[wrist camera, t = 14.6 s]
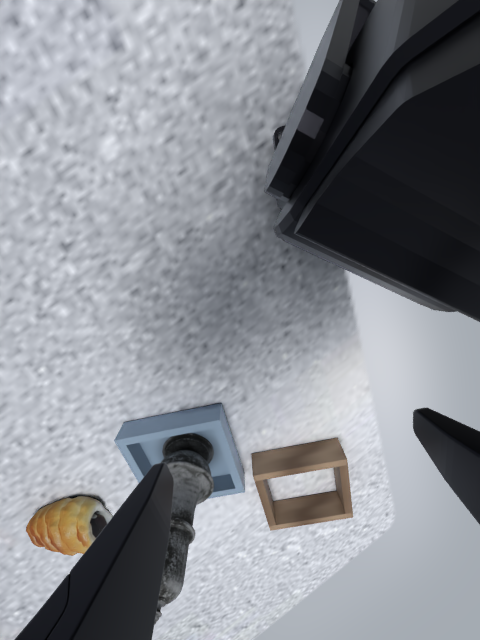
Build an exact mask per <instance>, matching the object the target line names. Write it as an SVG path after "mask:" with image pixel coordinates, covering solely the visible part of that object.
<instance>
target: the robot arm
mask: <svg viewBox="0 0 480 640" xmlns="http://www.w3.org/2000/svg"><path fill="white" fill-rule="evenodd" d="M280 133H282V136H281V138H280V140H279V139H278V134H280ZM273 142H274V149H275V153H274V155H273V158H272V160H271V162H270V165H269V169H268V174H267V179H266V184H265V190H264V192H266V193H268V194H270V195H272V196H274V197H276V198H277V204H278V207H279V208H280V209H281V212H280V214H279V216H278V218H277V221H276V223H275V225H274V230H275V233H276V236H277V237H279V238H281V239H283V241H286V242H288V243H290V244H292V245H294V246H296V247H298V248H300V249H303V250H305V251H307V252H309V253H311V254H313V255H315V256H318V257H320V258H322V259H324V260H326V261H328V262H330V263H333V264H335V265H337V266H339V267H341V268H343V269H345V270H348V271H350V272H352V273H354V274H356V275H358V276H360V277H363V278H365V279H367V280H369V281H371V282H373V283H375V284H378V285H380V286H382V287H384V288H386V289H388V290H391V291H392V292H395V293H397V294H399V295H401V296H403V297H406V298H407V299H410V300H412V301H414V302H416V303H418V304H420V305H423V306H426V307H428V308H430V309H433V310H439V311H445V312H455V311H458V312H460V313H462V314H464V315H466V316H468V317H471V318H473V319H475V320H477V321H479V322H480V0H378V1H377V2H375V1H374V0H340V1H339V3H338V5H337V7H336V10H335V12H334V14H333V16H332V18H331V20H330V23H329V25H328V27H327V29H326V31H325V34H324V36H323V38H322V40H321V42H320V44H319V47H318V49H317V51H316V54H315V56H314V59H313V61H312V64H311V66H310V69H309V71H308V73H307V76H306V78H305V80H304V83H303V85H302V88H301V90H300V92H299V95H298V97H297V100H296V102H295V104H294V107H293V109H292V112H291V114H290V117H289V119H288V121H287V124H286V125H285V126H282V127H279V128H277V130H276V131H275V133H274V136H273ZM413 429H414V432H415V434H416V436H417V438H418V439H419V441H420V442H421V444H422V445H423V447H424V448H425V450H426V452H427V453H428V455H429V456H430V458H431V459H432V461H433V462H434V464H435V465H436V467H437V468H438V470H439V472H440V473H441V474H442V476H443V478H444V479H445V480H446V482H447V483H448V484H449V486H450V487H451V488H452V490H453V491H454V492H455V493H456V495H457V496H458V497H459V499H460V500H461V501H462V502H463V504H464V505H465V506H466V508H467V509H468V510H469V511H470V513H471V514H472V515H473V517H474V518H475V519H476V520H477V522H478V523H479V524H480V431H477V430H475V429H473V428H471V427H469V426H466V425H464V424H462V423H460V422H457V421H455V420H453V419H451V418H449V417H447V416H444V415H442V414H440V413H438V412H436V411H433V410H431V409H429V408H421V409H417V410H414V412H413ZM173 487H174V480H173V476H172V474H171V472H170V470H169V468H168V466H167V464H166V463H165V462H162V463H157V464H154V465H153V466H152V467H151V469H150V470H149V471H148V472H147V474H146V475H145V476H144V478H143V479H142V480H141V481H140V483H139V484H138V485H137V487H136V488H135V489H134V490H133V492H132V493H131V494H130V496H129V497H128V498H127V499H126V501H125V502H124V503H123V504H122V506H121V507H120V508H119V510H118V511H117V512H116V513H115V515H114V516H113V517H112V519H111V520H110V521H109V522H108V524H107V525H106V526H105V528H104V529H103V530H102V531H101V533H100V534H99V535H98V537H97V538H96V539H95V540H94V542H93V543H92V544H91V545H90V547H89V548H88V549H87V551H86V552H85V553H84V554H83V556H82V557H81V558H80V560H79V561H78V562H77V563H76V565H75V566H74V567H73V569H72V570H71V571H70V574H68V575H67V576H66V577H65V579H64V580H63V581H62V583H61V584H60V585H59V586H58V588H57V589H56V590H55V591H54V593H53V594H52V595H51V596H50V598H49V599H48V600H47V601H46V603H45V604H44V605H43V606H42V608H41V609H40V610H39V611H38V613H37V614H36V615H35V616H34V617H33V619H32V620H31V621H30V622H29V623H28V624H27V626H26V627H25V628H24V629H23V630H22V632H21V633H20V634H19V635H18V636H17V637H16V639H15V640H152V634H153V628H154V622H155V617H156V611H157V605H158V599H159V593H160V587H161V582H162V576H163V570H164V564H165V558H166V552H167V547H168V541H169V534H170V525H171V513H172V500H173Z"/></svg>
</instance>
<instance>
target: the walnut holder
mask: <svg viewBox="0 0 480 640" xmlns="http://www.w3.org/2000/svg"><path fill="white" fill-rule="evenodd" d="M333 467H334V474H335V482H336V489H337V491H333V492H327V493H321V494H315V495H309V496H303V497H297V498H291V499H285V500H279V501H273V499H272V496H271V493H270V489H269V486H268V482H267V479H270V478H276V477H281V476H287V475H293V474H299V473H304V472H310V471H316V470H321V469H327V468H333ZM252 468H253V477H254V480H255V484H256V487H257V490H258V493H259V496H260V499H261V502H262V506H263V509H264V512H265V515H266V518H267V521H268V524H269V528H270V531H271V530H277V529H283V528H289V527H296V526H302V525H308V524H314V523H321V522H327V521H333V520H339V519H346V518H352V517H353V511H352V502H351V492H350V482H349V473H348V463H347V458H346V456H345V453H344V451H343V449H342V447H341V445H340V443H339V440H338V438H334V439H329V440H323V441H318V442H312V443H307V444H302V445H296V446H291V447H285V448H280V449H274V450H269V451H264V452H258V453H253V454H252Z"/></svg>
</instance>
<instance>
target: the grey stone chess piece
mask: <svg viewBox="0 0 480 640" xmlns="http://www.w3.org/2000/svg"><path fill="white" fill-rule="evenodd" d="M162 453H163V457H164V459H163V460H162V461H161V463H162V462H165V463H166V464H167V466H168V468H169V470H170V472H171V474H172V476H173V480H174V487H173V500H172V513H171V525H170V534H169V541H168V547H167V552H166V558H165V564H164V570H163V576H162V582H161V587H160V593H159V599H158V605H157V611H156V617H155V622H154V624H156V622H157V621H158V619H159V617H160V616H161V615H162V614H161V612H160V609H161V607H164V606H165V605H166V604H169V603H170V602H172V601H173V600H175V599H176V598H177V596H178V595H179V594H180V592H181V590H182V586H183V582H184V575H185V568H186V561H187V554H188V547H189V544H190V543H192V541H193V540H194V538H195V530H194V529H193V527H192V525H193V518H194V511H195V507H196V505H197V504H199V503H202V502H204V501H205V500H206V499H207V498H209V497H210V495H211V494H212V492H213V489H214V481H213V478H212V476H211V471H210V468H209V465H208V464H209V463H210V462H211V460H212V459H213V455H214V450H213V446H212V445H211V443H210V442H209V441H208V440H207V439H206V438H204V437H203V436H201V435H198V434H195V433H186V434H181V435H176V436H172V437H170V438H169V439H168V440H166V441H165V443H164V445H163V450H162Z"/></svg>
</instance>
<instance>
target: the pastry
mask: <svg viewBox="0 0 480 640" xmlns="http://www.w3.org/2000/svg"><path fill="white" fill-rule="evenodd" d="M112 517H113V516H112V515H111V513H110V512H109V511H108V510H106V509H105V508H104V507H103V505H102V504H101V502H100V501H98V500H97V499H93V498H92V497H88V496H78V497H76V498H73V499H70V497H69V498H65V499H62V500H60V501H56V502H54V503H52V504H49V505H47V506H45V507H43V508H41V509H40V510H38V511H37V512H36V514H35V515H34V516H33V517H32V518H31V519H30V521H29V523H28V525H27V527H26V532H27V533H28V535H29V537H30V539H31V541H32V543H33V544H34V545H36V546H38V547H45V548H46V549H47V550H51V551H54V552H61V553H62V554H64V555H71V556H72V555H75V554H77V553H82V554H84V553H85V552H86V551H87V549H88V548H89V547H90V545H91V544H92V543H93V542H94V540H95V539H96V538H97V537H98V535H99V534H100V533H101V531H102V530H103V529H104V528H105V526H106V525H107V524H108V522H109V521H110V520H111V519H112Z"/></svg>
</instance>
